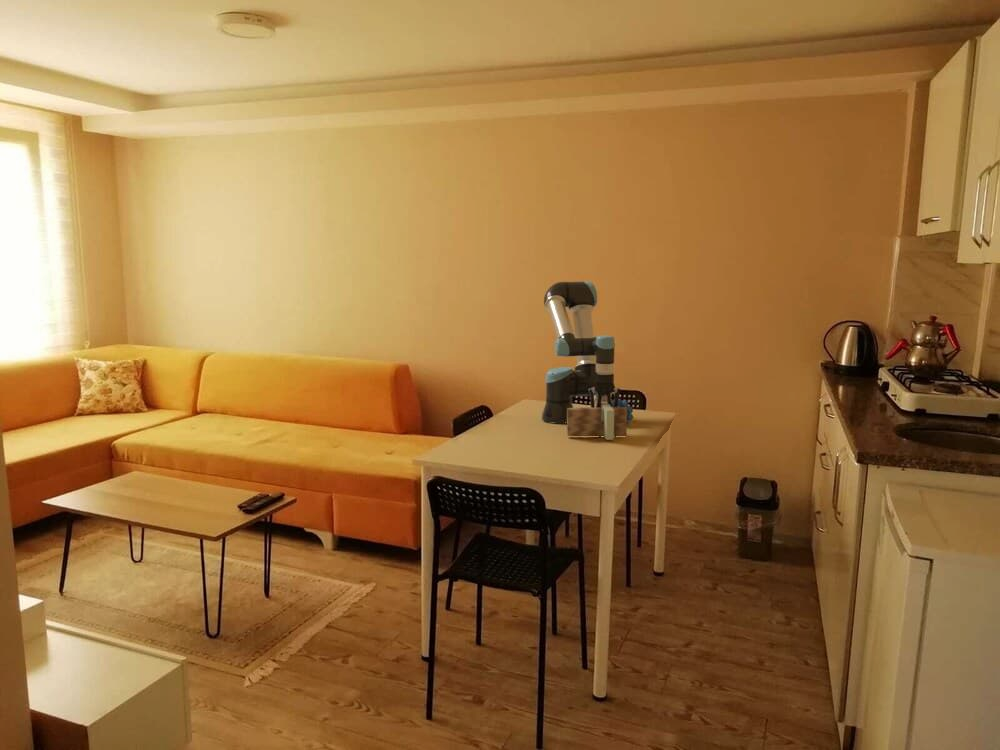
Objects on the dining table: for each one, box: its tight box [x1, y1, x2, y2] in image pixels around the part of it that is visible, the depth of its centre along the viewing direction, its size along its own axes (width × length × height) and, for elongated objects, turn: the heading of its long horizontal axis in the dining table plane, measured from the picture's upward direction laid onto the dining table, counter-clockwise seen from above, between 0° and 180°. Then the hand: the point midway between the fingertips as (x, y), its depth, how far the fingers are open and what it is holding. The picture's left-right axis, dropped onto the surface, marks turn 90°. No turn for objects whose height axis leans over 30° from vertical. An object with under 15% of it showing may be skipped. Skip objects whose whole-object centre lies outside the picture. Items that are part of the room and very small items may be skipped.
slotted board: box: [566, 407, 628, 437], centre depth 296 cm, size 24×3×12 cm, turn 92°
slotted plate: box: [600, 402, 615, 441], centre depth 296 cm, size 16×3×12 cm, turn 2°
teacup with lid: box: [594, 391, 615, 407], centre depth 351 cm, size 12×9×12 cm
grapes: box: [611, 397, 634, 426], centre depth 315 cm, size 12×7×12 cm, turn 71°
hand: (603, 428), depth 303 cm, fingers closed on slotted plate, 3 cm apart
